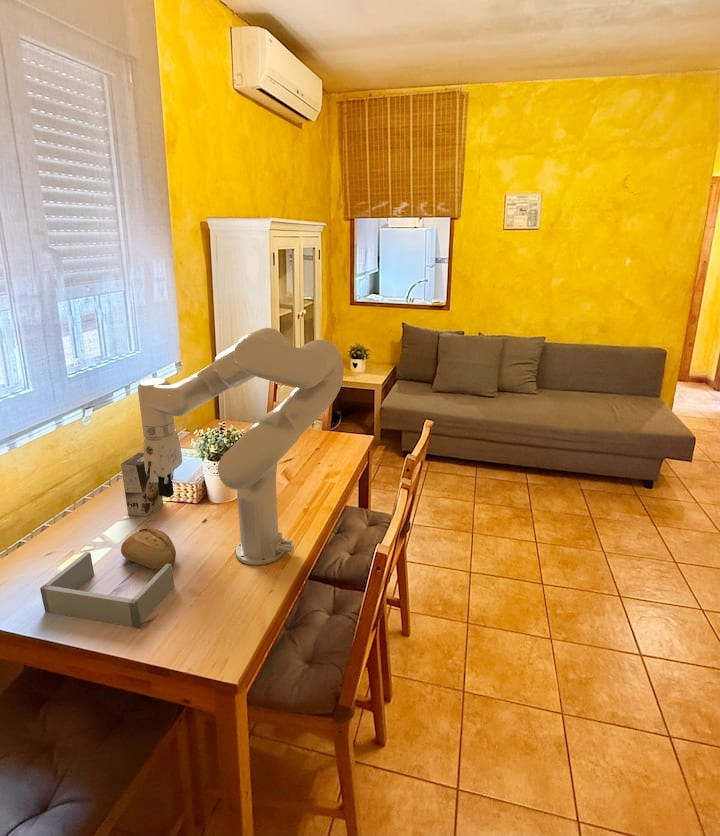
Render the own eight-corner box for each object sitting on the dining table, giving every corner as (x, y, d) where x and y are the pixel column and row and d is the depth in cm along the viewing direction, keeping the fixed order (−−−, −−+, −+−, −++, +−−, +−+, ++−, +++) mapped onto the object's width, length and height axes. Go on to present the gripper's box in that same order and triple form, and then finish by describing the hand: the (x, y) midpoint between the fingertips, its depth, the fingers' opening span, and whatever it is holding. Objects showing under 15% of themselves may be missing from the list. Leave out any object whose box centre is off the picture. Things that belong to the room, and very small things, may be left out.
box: (174, 586, 125) (171, 564, 123) (137, 627, 112) (133, 603, 110) (89, 573, 130) (85, 551, 128) (45, 611, 117) (39, 588, 115)
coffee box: (147, 517, 156) (140, 465, 150) (127, 514, 157) (119, 463, 152) (164, 502, 164) (158, 453, 159) (145, 500, 165) (138, 451, 160)
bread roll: (141, 545, 142) (137, 518, 139) (187, 558, 136) (184, 530, 134) (112, 564, 133) (107, 536, 131) (160, 579, 128) (156, 549, 125)
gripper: (155, 441, 126) (163, 510, 132) (188, 420, 140) (194, 484, 146) (126, 437, 128) (136, 507, 134) (162, 418, 142) (169, 481, 148)
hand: (166, 495), depth 140 cm, fingers closed
